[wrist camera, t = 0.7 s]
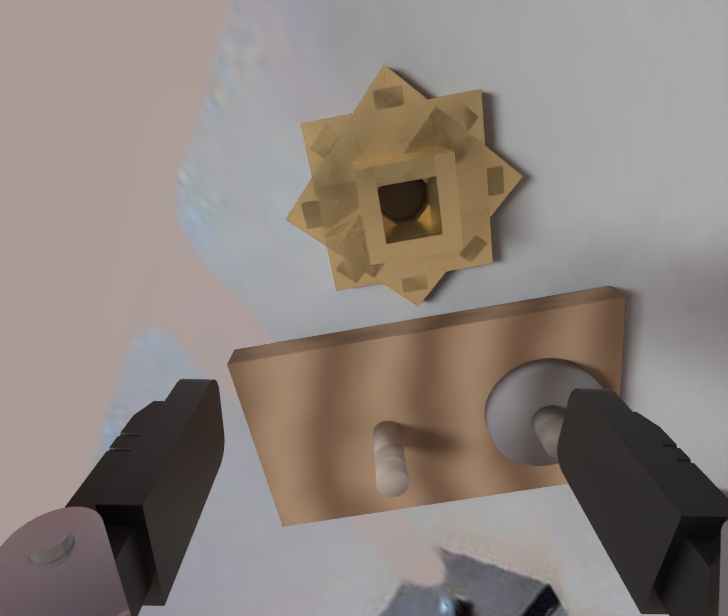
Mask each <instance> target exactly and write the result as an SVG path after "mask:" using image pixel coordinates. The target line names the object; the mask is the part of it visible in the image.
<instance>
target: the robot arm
mask: <svg viewBox="0 0 728 616" xmlns="http://www.w3.org/2000/svg"><path fill="white" fill-rule="evenodd" d="M223 452H224V428H223V419H222V411H221V402H220V393H219V386H218V383H217V381H216V380H207V379H180V380H179V381H178V382H177V384H176V385H175V387H174V388H173V390H172V391H171V393H170V394H169V395H168V397H167V398H166V400H165V401H153V402H152V403H150V404H149V405H148V406H146V407H145V408H143V409H142V410H140V411H139V412H138V413H136V414H135V415H133V417H132V418H131V419H130V421H129V422H128V423H127V425H126V426H125V427H124V429H123V430H122V431H121V434H120V436H118V437H117V438H116V439H115V441H114V442H113V443H112V445H111V446H110V450H109V451H106V453H105V454H104V455H103V457H102V458H101V459H100V461H99V462H98V463H97V465H96V466H95V467H94V469H93V470H92V471H91V473H90V474H89V475H88V477H87V478H86V480H85V481H84V482H83V484H82V485H81V486H80V488H79V489H78V490H77V492H76V493H75V494H74V496H73V497H72V498H71V500H70V501H69V502H68V504H67V505H66V506H65V508H61V509H57V510H53V511H51V512H48V513H45V514H43V515H41V516H38V517H36V518H35V519H33V520H31V521H29V522H28V523H26V524H25V525H23V526H22V527H20V528H19V529H18V530H16V531H15V532H14V533H13V534H12V535H11V536H10V537H9V538H8V539H7V540H6V541H5V542H4V543H3V544H2V546H1V547H0V616H138V614H139V612H140V609H141V607H142V605H151V606H165V603H166V601H167V598H168V596H169V593H170V591H171V588H172V586H173V583H174V580H175V578H176V575H177V573H178V570H179V568H180V565H181V563H182V560H183V558H184V555H185V553H186V550H187V548H188V545H189V543H190V540H191V538H192V535H193V533H194V530H195V528H196V525H197V523H198V520H199V518H200V515H201V513H202V510H203V507H204V505H205V502H206V500H207V497H208V495H209V492H210V490H211V487H212V485H213V482H214V480H215V477H216V475H217V472H218V470H219V467H220V465H221V461H222V458H223ZM557 456H558V462H559V466H560V469H561V471H562V473H563V475H564V477H565V478H566V480H567V482H568V484H569V486H570V487H571V489H572V491H573V493H574V494H575V496H576V498H577V500H578V502H579V503H580V505H581V507H582V509H583V511H584V512H585V514H586V516H587V518H588V520H589V521H590V523H591V525H592V527H593V529H594V530H595V532H596V534H597V536H598V538H599V539H600V541H601V543H602V545H603V546H604V548H605V550H606V552H607V554H608V555H609V557H610V559H611V561H612V563H613V564H614V566H615V568H616V570H617V572H618V573H619V575H620V577H621V579H622V581H623V582H624V584H625V586H626V588H627V589H628V591H629V593H630V595H631V597H632V598H633V600H634V602H635V604H636V606H637V607H638V609H639V611H640V613H641V614H669V616H728V498H727V497H726V496H725V495H724V494H723V493H722V492H721V491H720V490H719V489H718V488H717V487H716V486H715V485H714V484H713V483H712V481H711V480H710V479H709V478H708V477H707V476H706V475H705V474H704V473H703V472H702V471H701V470H700V469H699V468H698V467H697V466H696V465H695V464H694V463H691V459H690V458H689V457H688V456H687V455H686V454H685V453H684V452H683V451H682V450H681V449H680V448H677V446H676V443H675V442H674V441H673V440H672V439H671V438H670V437H669V436H668V435H667V434H666V433H665V432H664V431H663V430H662V429H661V428H660V427H659V426H658V425H656V424H654V423H653V422H651V421H650V420H648V419H647V418H645V417H644V416H642V415H640V414H639V413H637V412H632V411H631V410H630V408H629V407H628V406H627V405H626V404H625V403H624V402H623V401H622V400H621V398H620V397H619V396H618V395H617V394H616V393H615V392H614V391H613V390H611V389H587V388H576V389H574V390H572V392H571V393H570V396H569V399H568V403H567V407H566V411H565V415H564V419H563V423H562V428H561V432H560V436H559V440H558V445H557Z"/></svg>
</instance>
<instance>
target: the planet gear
mask: <svg viewBox="0 0 728 616" xmlns="http://www.w3.org/2000/svg"><path fill="white" fill-rule="evenodd" d="M301 129H302V133H303V138H304V143H305V147H306V152H307V157H308V161H309V166H310V171H311V175H312V179H311V180H310V182H309V183H308V185H307V187H306V188H305V190H304V191H303V193H302V194H301V196H300V198H299V199H298V201H297V202H296V204H295V205H294V207H293V209H292V210H291V212H290V213H289V215H288V216H287V218H286V220H287V221H289V222H290V223H292V224H293V225H295V226H296V227H298V228H299V229H301V230H302V231H304V232H305V233H307V234H308V235H310V236H311V237H313V238H314V239H316V240H318V241H319V242H321V243H322V244H324V245H325V246H327V250H328V254H329V259H330V264H331V268H332V273H333V277H334V282H335V287H336V291H337V290H342V289H348V288H354V287H360V286H365V285H371V284H377V283H383V284H384V285H386V286H387V287H389V288H391V289H392V290H394V291H395V292H397V293H398V294H400V295H401V296H403V297H404V298H406V299H407V300H409V301H410V302H412V303H413V304H415V305H416V306H419V305H420V304H421V302H422V301H423V300H424V299H425V297H426V296H427V295H428V294H429V292H430V291H431V290H432V289H433V287H434V286H435V285H436V284H437V283H438V281H439V280H440V279H441V278H442V276H443V275H444V274H445V273H446V271H451V270H457V269H463V268H469V267H474V266H480V265H486V264H492V263H493V258H492V243H491V228H490V217H491V215H492V214H493V213H494V212H495V210H496V209H497V208H498V207H499V205H500V204H501V203H502V202H503V200H504V199H505V198H506V197H507V195H508V194H509V193H510V192H511V191H512V189H513V188H514V187H515V186H516V184H517V183H518V182H519V181H520V179H521V178H522V177H523V176H522V175H521V174H520V173H518V172H517V171H516V170H515V169H513V168H512V167H511V166H510V165H508V164H507V163H506V162H505V161H503V160H502V159H501V158H500V157H499V156H497V155H496V154H495V153H494V152H492V151H491V150H490V149H489V148H487V147H486V146H485V137H484V121H483V106H482V91H481V89H480V90H474V91H469V92H464V93H458V94H453V95H448V96H443V97H438V98H432V99H426V98H425V97H424V96H423V95H422V94H420V93H419V92H418V91H417V90H415V89H414V88H413V87H412V86H410V85H409V84H408V83H407V82H405V81H404V80H403V79H402V78H400V77H399V76H398V75H397V74H395V73H394V72H393V71H392V70H390V69H389V68H388V67H387V66H385V65H383V67H382V68H381V70H380V72H379V73H378V75H377V76H376V78H375V79H374V81H373V83H372V84H371V86H370V87H369V89H368V90H367V92H366V94H365V95H364V97H363V98H362V100H361V102H360V103H359V105H358V106H357V108H356V109H355V111H354V113H353V114H349V115H344V116H339V117H333V118H328V119H323V120H318V121H313V122H307V123H302V124H301ZM417 179H422V180H424V185H425V194H426V201H425V203H424V204H423V206H422V207H421V208H420V210H419V211H418V212H417V214H416V215H415V216H414V217H411V218H405V219H400V220H393V219H392V218H390V217H389V216H387V215H386V214H385V213H383V212H382V211H381V208H380V202H379V196H378V189H379V187H380V186H385V185H390V184H396V183H401V182H406V181H412V180H417Z"/></svg>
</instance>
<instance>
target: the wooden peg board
mask: <svg viewBox="0 0 728 616" xmlns="http://www.w3.org/2000/svg"><path fill="white" fill-rule="evenodd" d="M625 302H626V297H625V296H623V295H622V294H620V293H619V292H617V291H616V290H614V289H613V288H611V287H610V286H607V287H601V288H595V289H589V290H583V291H578V292H572V293H566V294H560V295H554V296H548V297H542V298H536V299H530V300H525V301H519V302H513V303H507V304H501V305H495V306H489V307H483V308H478V309H472V310H466V311H460V312H454V313H448V314H442V315H436V316H431V317H425V318H419V319H413V320H407V321H401V322H395V323H389V324H383V325H378V326H372V327H366V328H360V329H354V330H348V331H342V332H336V333H331V334H325V335H319V336H313V337H307V338H301V339H295V340H289V341H284V342H278V343H272V344H266V345H260V346H255V347H248V348H242V349H237V350H234V352H233V354H232V356H231V358H230V360H229V362H228V364H227V365H228V368H229V371H230V374H231V377H232V379H233V382H234V385H235V388H236V391H237V394H238V397H239V400H240V403H241V406H242V409H243V412H244V415H245V418H246V420H247V423H248V426H249V429H250V432H251V435H252V438H253V441H254V444H255V447H256V450H257V453H258V456H259V459H260V461H261V464H262V467H263V470H264V473H265V476H266V479H267V482H268V485H269V488H270V491H271V494H272V497H273V499H274V502H275V505H276V508H277V511H278V514H279V517H280V520H281V523H282V526H283V527H284V526H290V525H297V524H303V523H310V522H317V521H323V520H330V519H336V518H343V517H350V516H356V515H362V514H370V513H376V512H383V511H389V510H396V509H403V508H409V507H416V506H422V505H429V504H436V503H442V502H449V501H456V500H462V499H469V498H475V497H482V496H489V495H495V494H502V493H508V492H515V491H522V490H528V489H535V488H542V487H548V486H555V485H561V484H568V482H567V480H566V478H565V477H564V475H563V473H562V471H561V469H560V466H559V462H558V456H557V445H558V440H559V436H560V432H561V428H562V423H563V419H564V415H565V411H566V407H567V403H568V399H569V396H570V393H571V392H572V390H574V389H576V388H587V389H611V390H613V391H614V392H615V393H616V394H617V395H618V396H619V397H620V388H621V371H622V354H623V337H624V319H625Z"/></svg>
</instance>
